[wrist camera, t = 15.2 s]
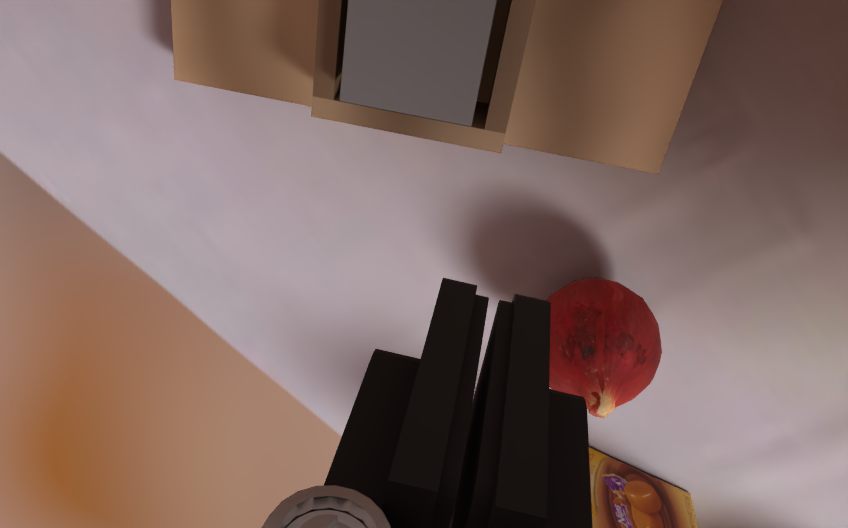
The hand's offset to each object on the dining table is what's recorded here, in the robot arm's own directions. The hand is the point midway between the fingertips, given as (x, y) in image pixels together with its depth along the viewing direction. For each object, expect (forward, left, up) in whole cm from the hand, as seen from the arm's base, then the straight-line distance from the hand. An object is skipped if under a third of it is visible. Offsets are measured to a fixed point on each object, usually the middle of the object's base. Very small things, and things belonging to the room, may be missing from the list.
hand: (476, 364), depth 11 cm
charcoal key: (+3, -1, -17) cm, 18 cm away
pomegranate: (-7, +12, -21) cm, 25 cm away
